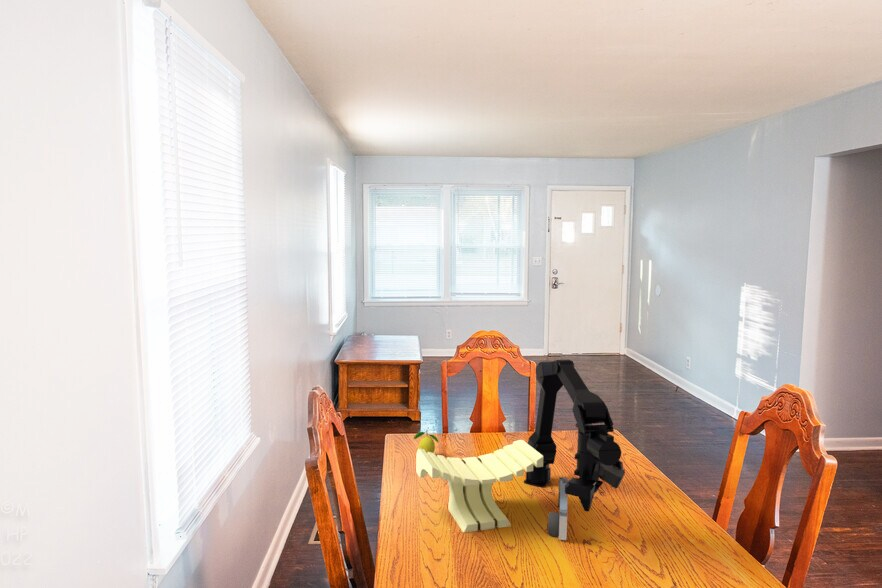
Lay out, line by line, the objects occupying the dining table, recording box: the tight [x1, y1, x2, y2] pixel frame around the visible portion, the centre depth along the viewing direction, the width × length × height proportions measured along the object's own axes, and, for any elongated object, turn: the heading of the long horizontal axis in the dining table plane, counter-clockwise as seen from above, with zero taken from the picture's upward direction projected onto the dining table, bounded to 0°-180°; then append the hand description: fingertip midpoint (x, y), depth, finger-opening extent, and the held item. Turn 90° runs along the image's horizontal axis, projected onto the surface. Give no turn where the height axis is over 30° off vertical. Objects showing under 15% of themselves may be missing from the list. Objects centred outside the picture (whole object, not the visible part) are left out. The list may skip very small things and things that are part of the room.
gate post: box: [557, 476, 569, 509], centre depth 157 cm, size 2×2×8 cm
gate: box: [558, 483, 568, 541], centre depth 147 cm, size 18×2×7 cm, turn 168°
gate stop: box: [547, 511, 560, 538], centre depth 142 cm, size 3×3×5 cm
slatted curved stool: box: [415, 439, 543, 533], centre depth 151 cm, size 30×16×18 cm, turn 107°
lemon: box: [413, 430, 439, 454], centre depth 192 cm, size 7×6×10 cm
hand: (586, 510), depth 142 cm, fingers closed
